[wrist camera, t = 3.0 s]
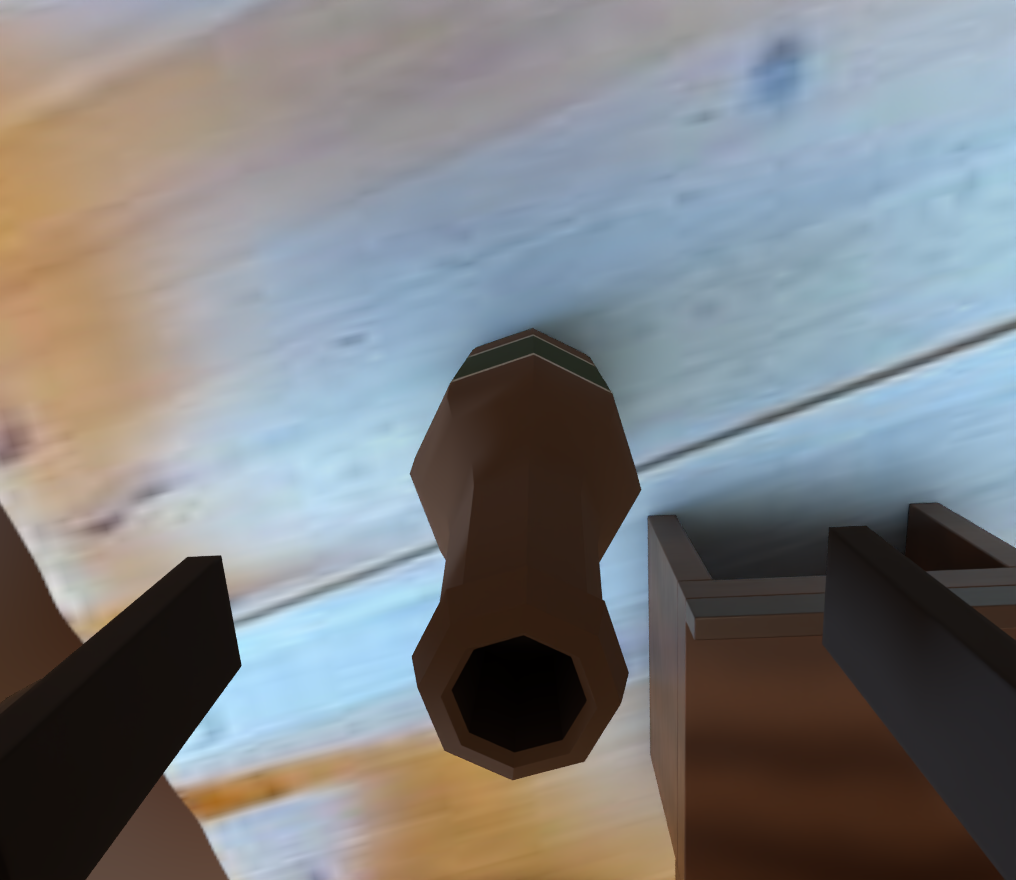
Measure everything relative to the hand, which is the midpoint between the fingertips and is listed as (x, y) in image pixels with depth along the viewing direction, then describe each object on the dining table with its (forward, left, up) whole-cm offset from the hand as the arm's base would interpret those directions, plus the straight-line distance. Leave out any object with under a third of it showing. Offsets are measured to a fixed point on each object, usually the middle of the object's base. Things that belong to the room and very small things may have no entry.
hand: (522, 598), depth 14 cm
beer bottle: (0, 0, -20) cm, 20 cm away
